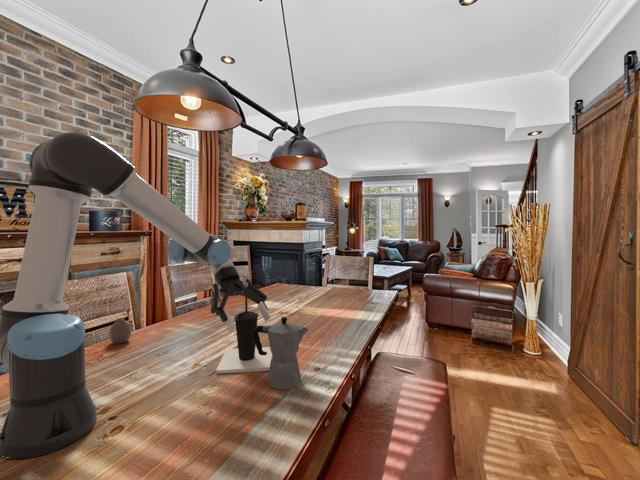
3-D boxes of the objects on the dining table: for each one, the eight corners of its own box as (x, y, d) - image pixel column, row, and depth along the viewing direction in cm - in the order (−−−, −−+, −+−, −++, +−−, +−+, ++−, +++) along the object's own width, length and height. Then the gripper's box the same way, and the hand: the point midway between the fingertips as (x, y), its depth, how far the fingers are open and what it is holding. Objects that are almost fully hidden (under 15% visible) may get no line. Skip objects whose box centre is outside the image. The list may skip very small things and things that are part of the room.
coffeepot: (309, 373, 89) (309, 312, 89) (307, 390, 80) (307, 322, 79) (256, 373, 89) (255, 312, 89) (248, 390, 80) (247, 322, 79)
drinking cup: (229, 359, 96) (228, 296, 96) (245, 351, 103) (244, 292, 103) (248, 364, 93) (247, 299, 92) (263, 355, 100) (263, 294, 99)
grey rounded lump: (120, 346, 110) (120, 322, 110) (104, 344, 112) (103, 321, 111) (135, 339, 117) (135, 316, 117) (120, 338, 118) (119, 315, 118)
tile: (271, 370, 91) (271, 367, 91) (216, 373, 89) (215, 370, 89) (273, 349, 107) (273, 346, 107) (226, 351, 105) (226, 348, 105)
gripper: (250, 275, 117) (276, 322, 107) (185, 283, 98) (210, 341, 89) (258, 262, 113) (286, 309, 104) (193, 268, 95) (219, 327, 85)
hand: (251, 324), depth 96 cm, fingers open, 13 cm apart
